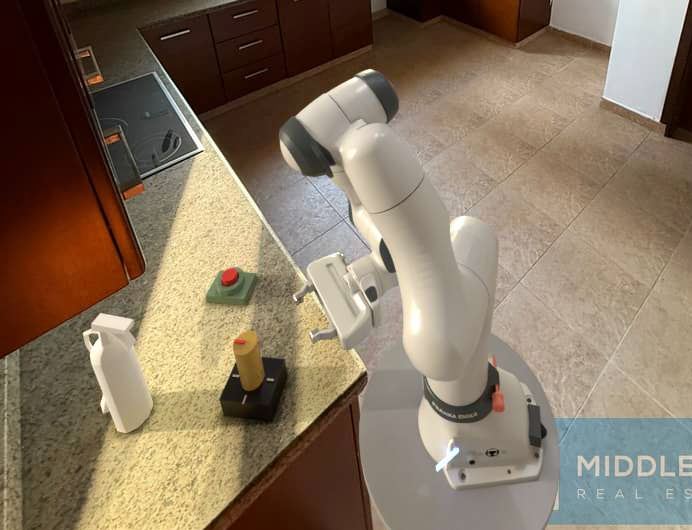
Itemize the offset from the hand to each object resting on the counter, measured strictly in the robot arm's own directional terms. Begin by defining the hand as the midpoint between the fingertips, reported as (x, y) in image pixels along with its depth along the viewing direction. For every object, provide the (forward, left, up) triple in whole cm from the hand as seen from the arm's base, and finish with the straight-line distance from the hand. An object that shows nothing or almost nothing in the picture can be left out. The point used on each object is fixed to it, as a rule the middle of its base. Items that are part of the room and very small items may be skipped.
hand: (302, 318), depth 88 cm
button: (+25, -14, -9) cm, 29 cm away
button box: (+25, -14, -12) cm, 31 cm away
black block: (+9, +7, -12) cm, 17 cm away
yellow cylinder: (+9, +7, -7) cm, 13 cm away
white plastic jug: (+33, +12, -12) cm, 37 cm away
